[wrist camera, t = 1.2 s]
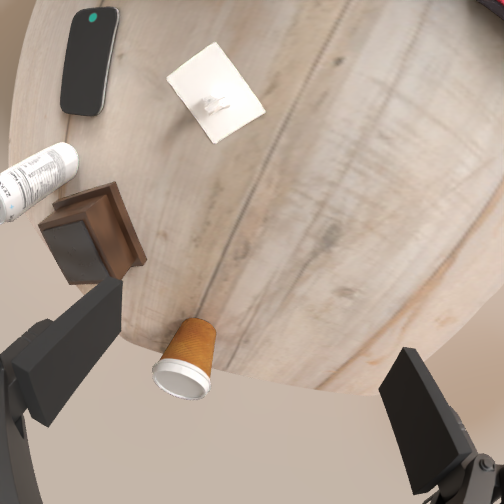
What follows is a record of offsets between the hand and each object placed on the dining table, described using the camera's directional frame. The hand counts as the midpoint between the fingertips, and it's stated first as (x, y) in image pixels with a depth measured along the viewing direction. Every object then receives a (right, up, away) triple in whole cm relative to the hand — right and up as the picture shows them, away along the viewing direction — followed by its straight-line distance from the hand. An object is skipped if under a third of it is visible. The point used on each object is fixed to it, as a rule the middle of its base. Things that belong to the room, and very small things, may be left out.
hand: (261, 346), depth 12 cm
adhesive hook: (-4, +21, +17) cm, 28 cm away
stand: (-24, +8, +29) cm, 39 cm away
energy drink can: (-27, +18, +23) cm, 40 cm away
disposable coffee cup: (-10, -10, +39) cm, 41 cm away
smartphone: (-21, +28, +15) cm, 38 cm away
